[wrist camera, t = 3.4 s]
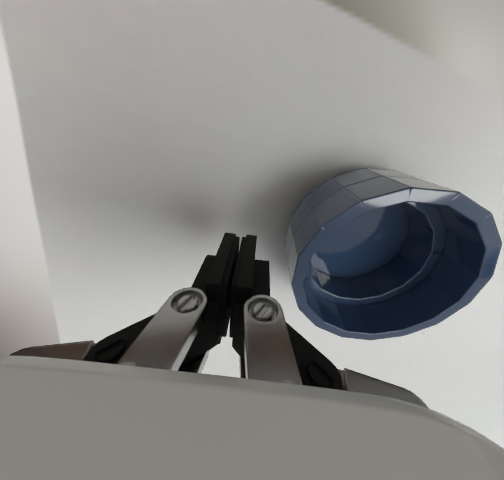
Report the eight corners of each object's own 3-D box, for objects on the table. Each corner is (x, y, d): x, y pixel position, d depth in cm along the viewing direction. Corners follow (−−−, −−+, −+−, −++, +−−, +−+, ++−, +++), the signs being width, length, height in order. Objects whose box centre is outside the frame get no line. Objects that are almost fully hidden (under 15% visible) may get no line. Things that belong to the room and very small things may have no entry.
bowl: (298, 160, 12) (315, 178, 8) (452, 174, 12) (559, 200, 8) (277, 277, 17) (280, 330, 12) (388, 289, 16) (432, 347, 12)
